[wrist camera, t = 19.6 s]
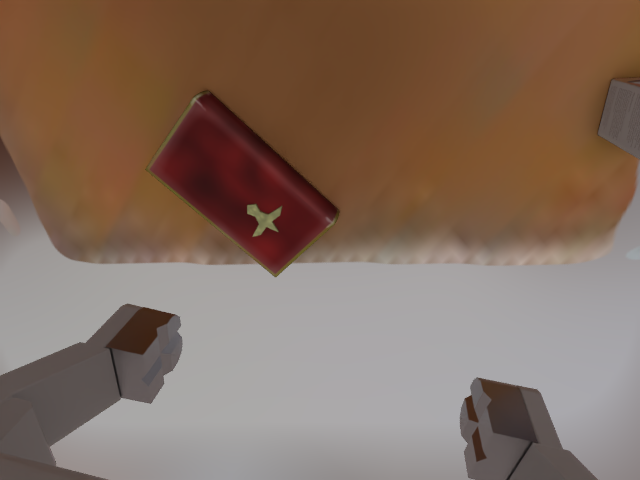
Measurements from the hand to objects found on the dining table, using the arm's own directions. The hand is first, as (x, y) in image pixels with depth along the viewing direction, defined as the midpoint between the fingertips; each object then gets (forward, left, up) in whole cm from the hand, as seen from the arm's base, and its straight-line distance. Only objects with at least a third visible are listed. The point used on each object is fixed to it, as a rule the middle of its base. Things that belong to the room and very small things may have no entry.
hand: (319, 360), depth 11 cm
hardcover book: (-14, -12, -38) cm, 42 cm away
